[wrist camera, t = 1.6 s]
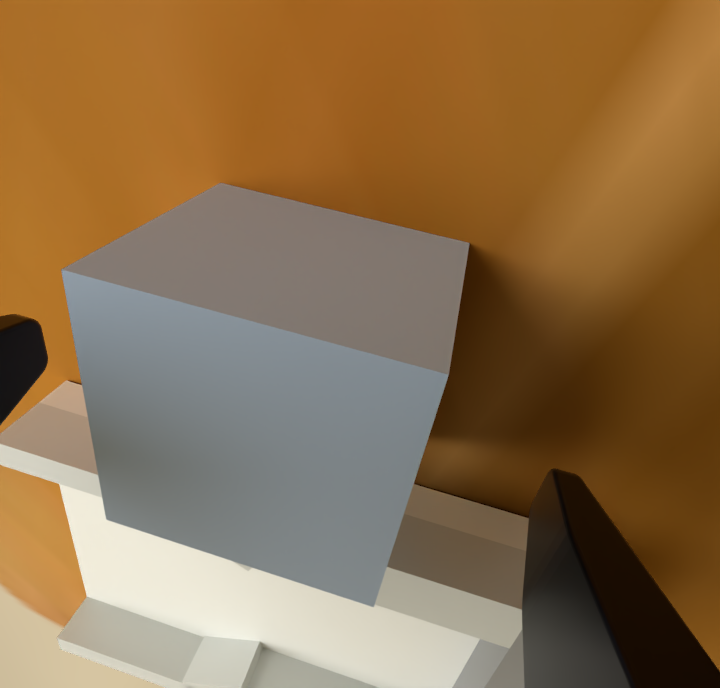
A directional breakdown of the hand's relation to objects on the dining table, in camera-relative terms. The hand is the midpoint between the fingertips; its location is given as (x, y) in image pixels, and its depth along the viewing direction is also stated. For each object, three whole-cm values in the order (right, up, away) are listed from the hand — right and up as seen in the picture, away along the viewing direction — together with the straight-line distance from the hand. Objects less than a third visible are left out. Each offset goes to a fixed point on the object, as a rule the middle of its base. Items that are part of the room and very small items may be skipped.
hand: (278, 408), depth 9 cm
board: (-1, -6, +7) cm, 9 cm away
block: (+1, +2, +3) cm, 3 cm away
